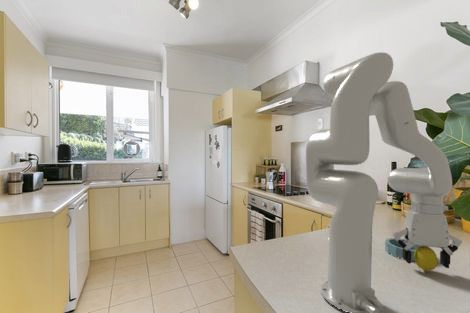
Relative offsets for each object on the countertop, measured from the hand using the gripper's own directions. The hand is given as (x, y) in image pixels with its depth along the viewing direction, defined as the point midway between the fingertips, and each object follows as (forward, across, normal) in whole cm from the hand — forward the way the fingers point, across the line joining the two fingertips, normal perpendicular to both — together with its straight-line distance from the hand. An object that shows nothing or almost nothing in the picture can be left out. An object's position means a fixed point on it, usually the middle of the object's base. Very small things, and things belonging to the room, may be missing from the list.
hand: (425, 263), depth 69 cm
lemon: (+3, 0, 0) cm, 3 cm away
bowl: (+2, 0, -12) cm, 13 cm away
